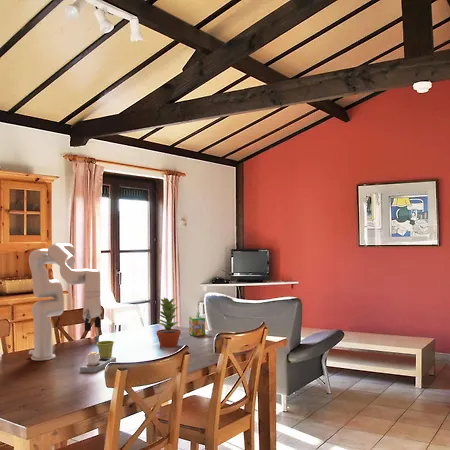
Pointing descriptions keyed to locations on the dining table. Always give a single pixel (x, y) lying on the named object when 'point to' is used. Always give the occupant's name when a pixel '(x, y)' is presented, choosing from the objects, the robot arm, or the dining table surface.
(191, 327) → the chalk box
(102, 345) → the plant pot
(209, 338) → the dining table surface
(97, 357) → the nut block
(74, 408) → the dining table surface
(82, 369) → the grey slotted tray
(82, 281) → the robot arm
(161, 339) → the potted plant
